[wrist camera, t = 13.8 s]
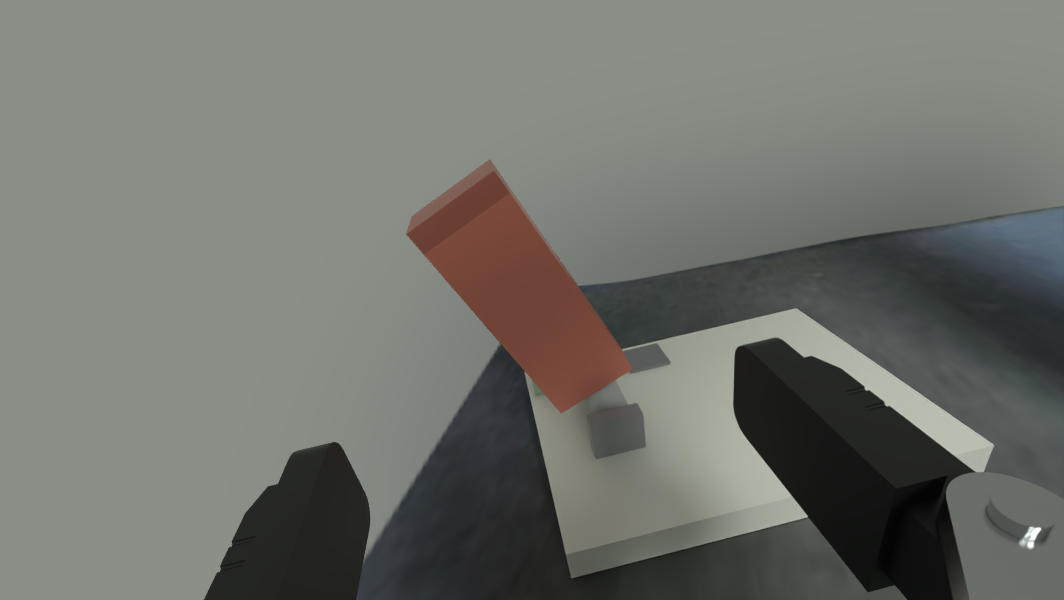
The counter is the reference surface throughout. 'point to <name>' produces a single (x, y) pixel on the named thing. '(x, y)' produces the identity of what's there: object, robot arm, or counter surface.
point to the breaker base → (694, 445)
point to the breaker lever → (521, 290)
